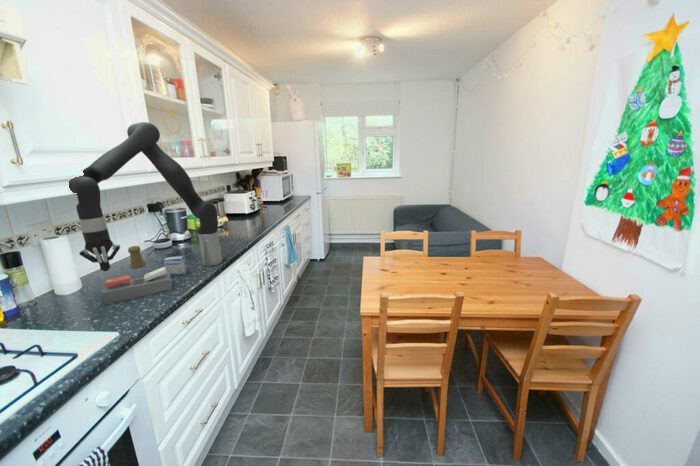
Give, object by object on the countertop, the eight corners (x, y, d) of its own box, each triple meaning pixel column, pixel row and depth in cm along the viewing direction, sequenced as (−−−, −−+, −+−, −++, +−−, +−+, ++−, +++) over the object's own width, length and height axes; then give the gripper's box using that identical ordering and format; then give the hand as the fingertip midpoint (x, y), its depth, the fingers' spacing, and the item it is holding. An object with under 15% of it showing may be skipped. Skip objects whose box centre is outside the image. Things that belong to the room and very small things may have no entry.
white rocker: (166, 269, 130) (164, 266, 130) (166, 272, 127) (164, 269, 126) (146, 277, 127) (144, 274, 126) (146, 281, 123) (144, 278, 123)
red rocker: (131, 278, 124) (129, 274, 123) (130, 281, 120) (128, 278, 120) (107, 283, 120) (106, 279, 119) (105, 287, 116) (104, 283, 116)
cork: (137, 268, 150) (133, 248, 147) (128, 268, 152) (123, 248, 148) (147, 264, 156) (143, 245, 153) (138, 263, 157) (133, 244, 154)
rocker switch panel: (171, 282, 135) (169, 270, 133) (172, 289, 127) (169, 277, 126) (108, 295, 123) (105, 282, 121) (105, 304, 116) (101, 290, 114)
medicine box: (166, 276, 141) (163, 260, 138) (169, 273, 145) (166, 256, 142) (184, 274, 143) (181, 258, 140) (186, 271, 147) (184, 255, 144)
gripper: (117, 224, 118) (127, 263, 123) (74, 229, 112) (86, 271, 117) (115, 228, 112) (125, 269, 117) (69, 234, 106) (82, 277, 110)
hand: (106, 270), depth 117 cm, fingers closed
